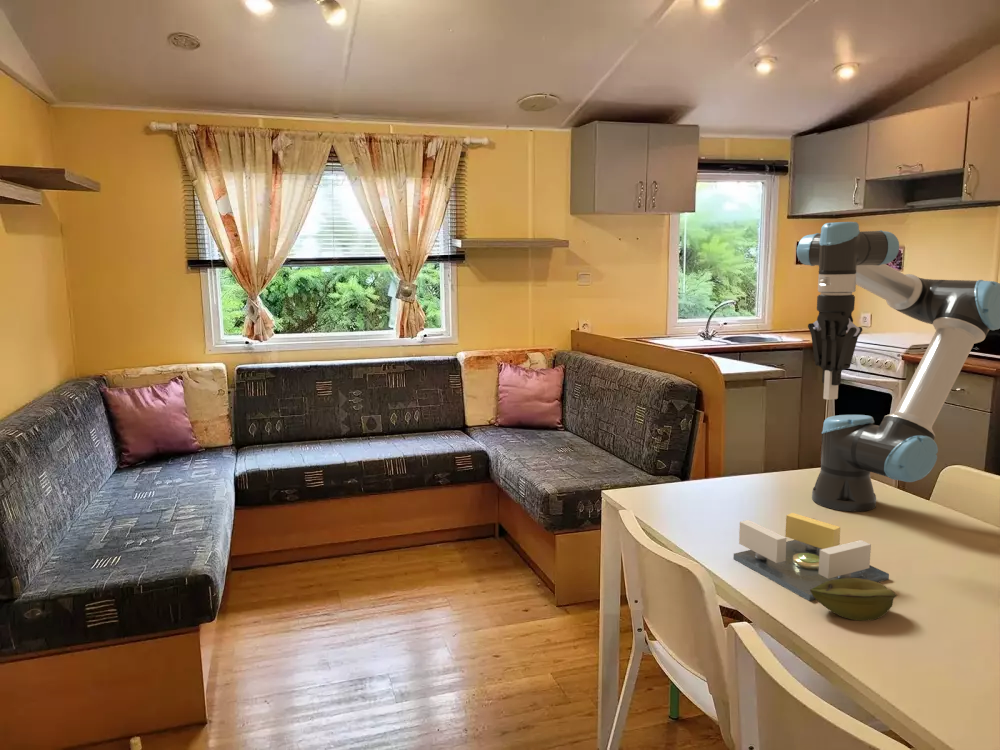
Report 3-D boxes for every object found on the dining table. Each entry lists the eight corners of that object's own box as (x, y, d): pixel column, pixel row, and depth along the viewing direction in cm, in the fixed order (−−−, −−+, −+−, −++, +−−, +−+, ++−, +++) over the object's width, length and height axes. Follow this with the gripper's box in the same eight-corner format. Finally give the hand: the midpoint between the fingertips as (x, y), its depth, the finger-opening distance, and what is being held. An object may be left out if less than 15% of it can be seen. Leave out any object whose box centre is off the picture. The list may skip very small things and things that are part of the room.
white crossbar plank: (738, 548, 155) (739, 521, 154) (747, 546, 155) (748, 520, 154) (776, 568, 145) (777, 539, 144) (785, 566, 145) (786, 537, 144)
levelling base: (807, 541, 161) (807, 530, 160) (888, 579, 142) (889, 566, 141) (733, 558, 153) (733, 546, 153) (809, 601, 134) (810, 587, 133)
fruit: (877, 636, 121) (880, 600, 120) (807, 612, 130) (808, 579, 129) (898, 611, 129) (901, 578, 128) (831, 591, 138) (832, 559, 137)
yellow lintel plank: (785, 541, 158) (786, 515, 157) (791, 539, 159) (792, 512, 158) (832, 557, 149) (834, 529, 148) (838, 554, 150) (840, 527, 149)
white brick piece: (858, 568, 143) (860, 540, 142) (869, 573, 141) (871, 544, 140) (818, 579, 139) (819, 549, 138) (827, 584, 137) (829, 554, 136)
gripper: (800, 293, 160) (795, 395, 164) (848, 295, 148) (841, 405, 152) (825, 291, 163) (819, 392, 167) (874, 294, 151) (867, 402, 155)
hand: (830, 398), depth 159 cm, fingers closed
